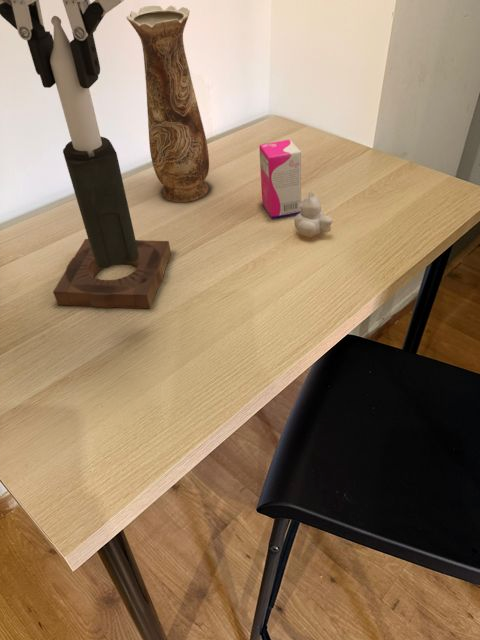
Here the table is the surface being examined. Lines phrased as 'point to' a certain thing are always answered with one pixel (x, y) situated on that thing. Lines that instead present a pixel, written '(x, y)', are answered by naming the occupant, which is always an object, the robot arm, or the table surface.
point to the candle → (92, 164)
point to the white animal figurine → (312, 217)
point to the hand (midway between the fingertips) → (71, 81)
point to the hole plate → (119, 292)
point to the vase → (172, 104)
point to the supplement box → (280, 178)
